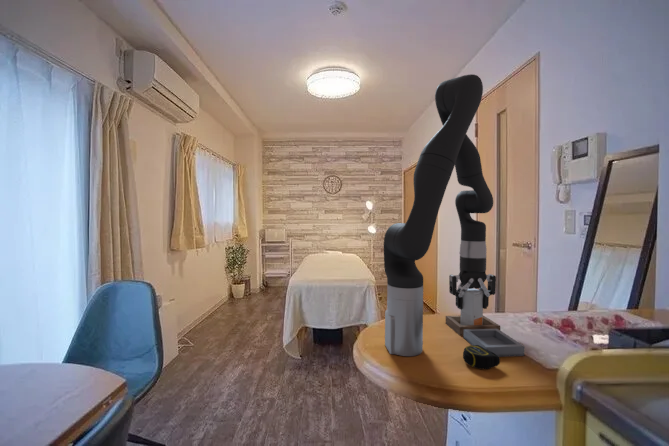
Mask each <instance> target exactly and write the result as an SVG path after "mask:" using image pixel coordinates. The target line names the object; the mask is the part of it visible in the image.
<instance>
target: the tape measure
mask: <svg viewBox="0 0 669 446" xmlns="http://www.w3.org/2000/svg"><path fill="white" fill-rule="evenodd" d="M462 359H463V361H464V362H465V363H466V364H467V365H468V366H470V367H472V368H475V369H479V370H490V369H492V368H495V367H497V366H499V365H500V362H501V359H500V357H499V356H497V355H496V354H495V353H493V352H491V351H489V350H487V349H485V348H483V347H481V346H479V345H475V346H472V345H467V346H465V348H464V349H463V352H462Z"/></svg>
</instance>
